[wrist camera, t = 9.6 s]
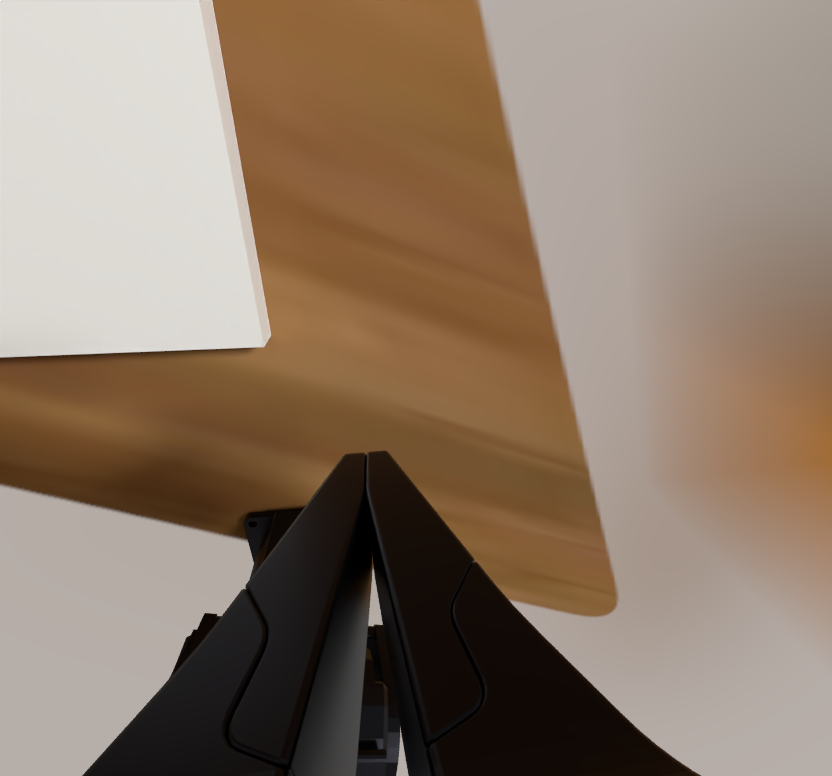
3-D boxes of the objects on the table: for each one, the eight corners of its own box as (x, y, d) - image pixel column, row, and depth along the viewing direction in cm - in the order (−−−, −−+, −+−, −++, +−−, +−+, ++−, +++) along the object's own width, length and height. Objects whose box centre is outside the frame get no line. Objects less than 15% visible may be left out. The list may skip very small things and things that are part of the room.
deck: (271, 335, 19) (263, 347, 17) (14, 344, 17) (-14, 358, 16) (155, -320, 10) (124, -394, 9) (-347, -383, 9) (-467, -478, 8)
